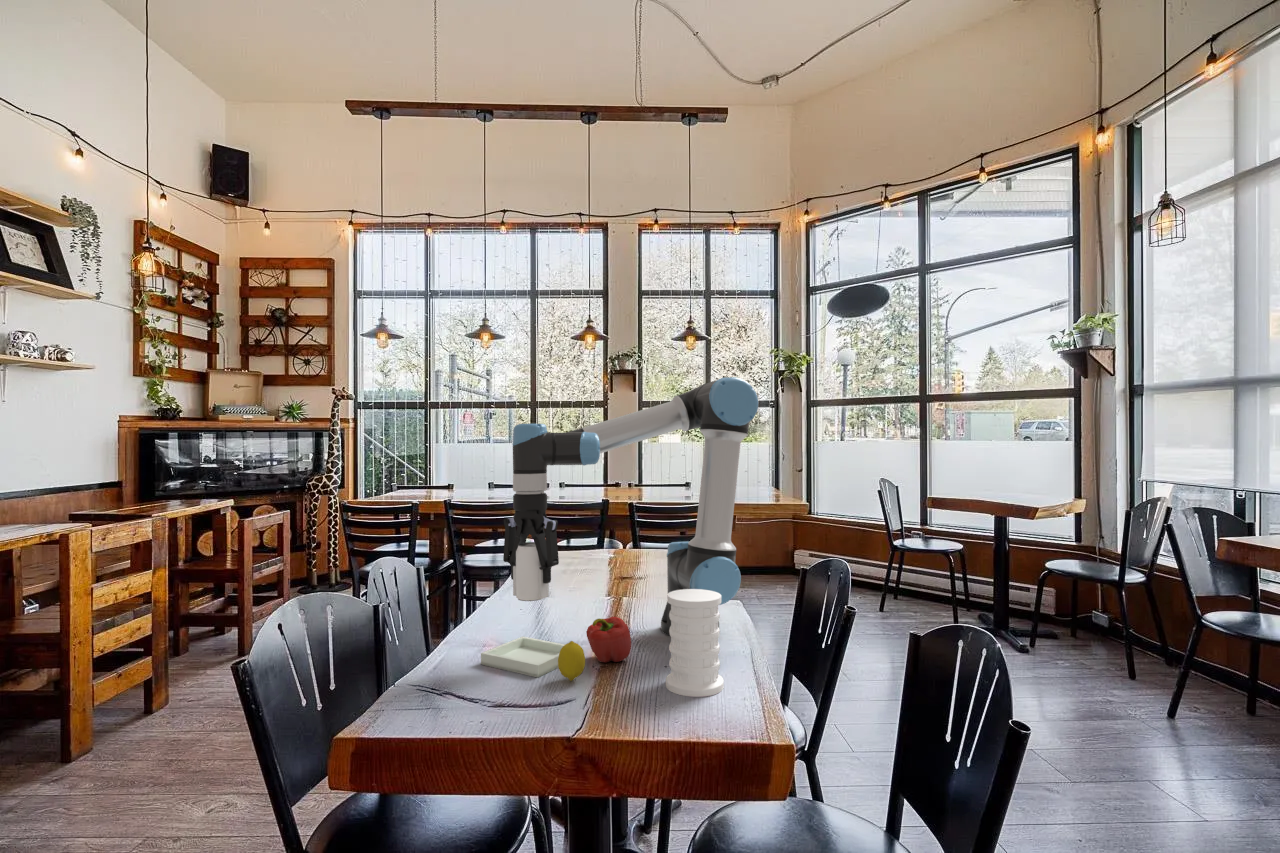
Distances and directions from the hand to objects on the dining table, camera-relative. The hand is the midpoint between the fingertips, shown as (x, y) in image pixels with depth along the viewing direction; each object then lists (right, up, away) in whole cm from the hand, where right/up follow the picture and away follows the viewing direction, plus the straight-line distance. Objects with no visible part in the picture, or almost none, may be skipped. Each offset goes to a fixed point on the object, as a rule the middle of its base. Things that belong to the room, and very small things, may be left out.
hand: (530, 595), depth 141 cm
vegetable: (+17, -15, 0) cm, 23 cm away
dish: (0, -15, 0) cm, 15 cm away
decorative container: (+35, -14, -15) cm, 41 cm away
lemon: (+10, -14, -12) cm, 21 cm away
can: (0, -1, 0) cm, 1 cm away
